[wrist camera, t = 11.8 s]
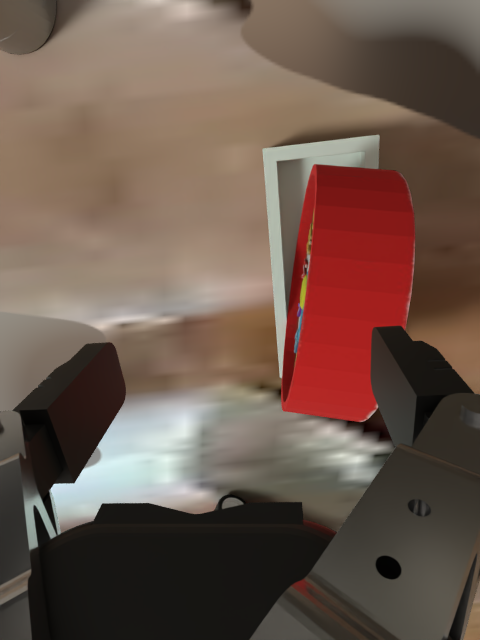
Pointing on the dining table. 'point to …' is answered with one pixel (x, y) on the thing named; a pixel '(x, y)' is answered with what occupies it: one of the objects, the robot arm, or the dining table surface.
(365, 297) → the toy clock
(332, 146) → the tray
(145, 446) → the dining table surface
